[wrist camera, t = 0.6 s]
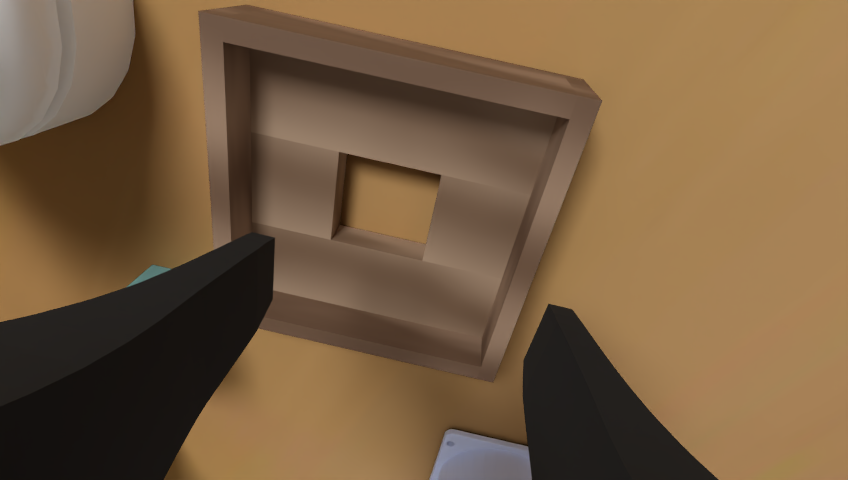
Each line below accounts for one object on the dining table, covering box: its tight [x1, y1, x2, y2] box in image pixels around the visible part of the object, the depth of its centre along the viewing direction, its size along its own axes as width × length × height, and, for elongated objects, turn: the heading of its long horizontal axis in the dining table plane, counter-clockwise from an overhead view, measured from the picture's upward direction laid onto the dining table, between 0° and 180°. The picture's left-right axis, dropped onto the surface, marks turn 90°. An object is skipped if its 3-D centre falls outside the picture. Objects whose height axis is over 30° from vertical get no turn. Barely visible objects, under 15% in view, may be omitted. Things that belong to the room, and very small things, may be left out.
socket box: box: [199, 5, 602, 382], centre depth 20 cm, size 14×14×4 cm
